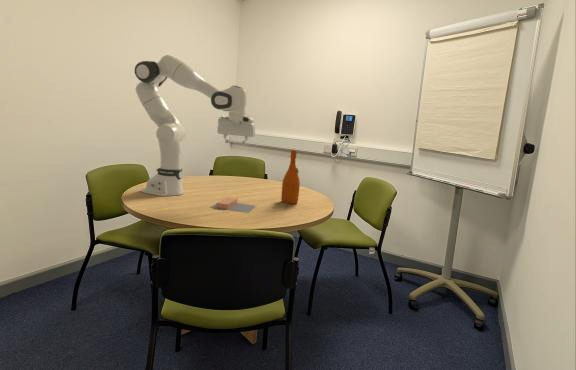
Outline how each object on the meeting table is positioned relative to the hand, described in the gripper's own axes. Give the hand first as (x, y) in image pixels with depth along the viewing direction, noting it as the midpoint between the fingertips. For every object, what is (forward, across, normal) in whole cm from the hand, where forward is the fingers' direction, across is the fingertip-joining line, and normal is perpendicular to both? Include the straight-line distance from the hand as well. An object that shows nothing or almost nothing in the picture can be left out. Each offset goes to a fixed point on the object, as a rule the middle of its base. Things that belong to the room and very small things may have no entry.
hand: (235, 143), depth 189 cm
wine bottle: (+31, +30, +12) cm, 45 cm away
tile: (+29, +2, -7) cm, 30 cm away
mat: (+31, +6, -14) cm, 35 cm away
